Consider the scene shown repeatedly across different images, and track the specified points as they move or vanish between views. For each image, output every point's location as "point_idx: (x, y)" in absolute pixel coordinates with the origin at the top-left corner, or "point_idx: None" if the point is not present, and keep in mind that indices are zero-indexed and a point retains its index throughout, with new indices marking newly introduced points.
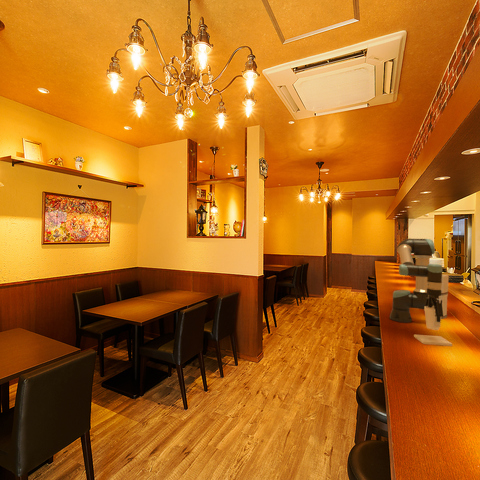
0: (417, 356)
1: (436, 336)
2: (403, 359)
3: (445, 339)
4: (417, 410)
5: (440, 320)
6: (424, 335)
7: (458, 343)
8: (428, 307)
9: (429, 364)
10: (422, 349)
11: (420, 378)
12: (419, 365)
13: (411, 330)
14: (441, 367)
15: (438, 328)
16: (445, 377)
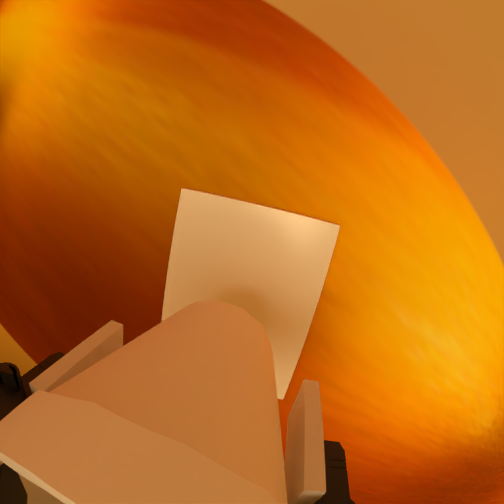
0: (398, 471)
1: (183, 227)
2: (396, 501)
3: (248, 203)
4: (500, 499)
5: (262, 389)
6: (168, 308)
7: (283, 121)
8: (29, 484)
9: (450, 461)
10: (352, 433)
11: (471, 489)
12: (440, 481)
13: (63, 279)
14: (477, 440)
15: (267, 342)
16: (500, 449)
